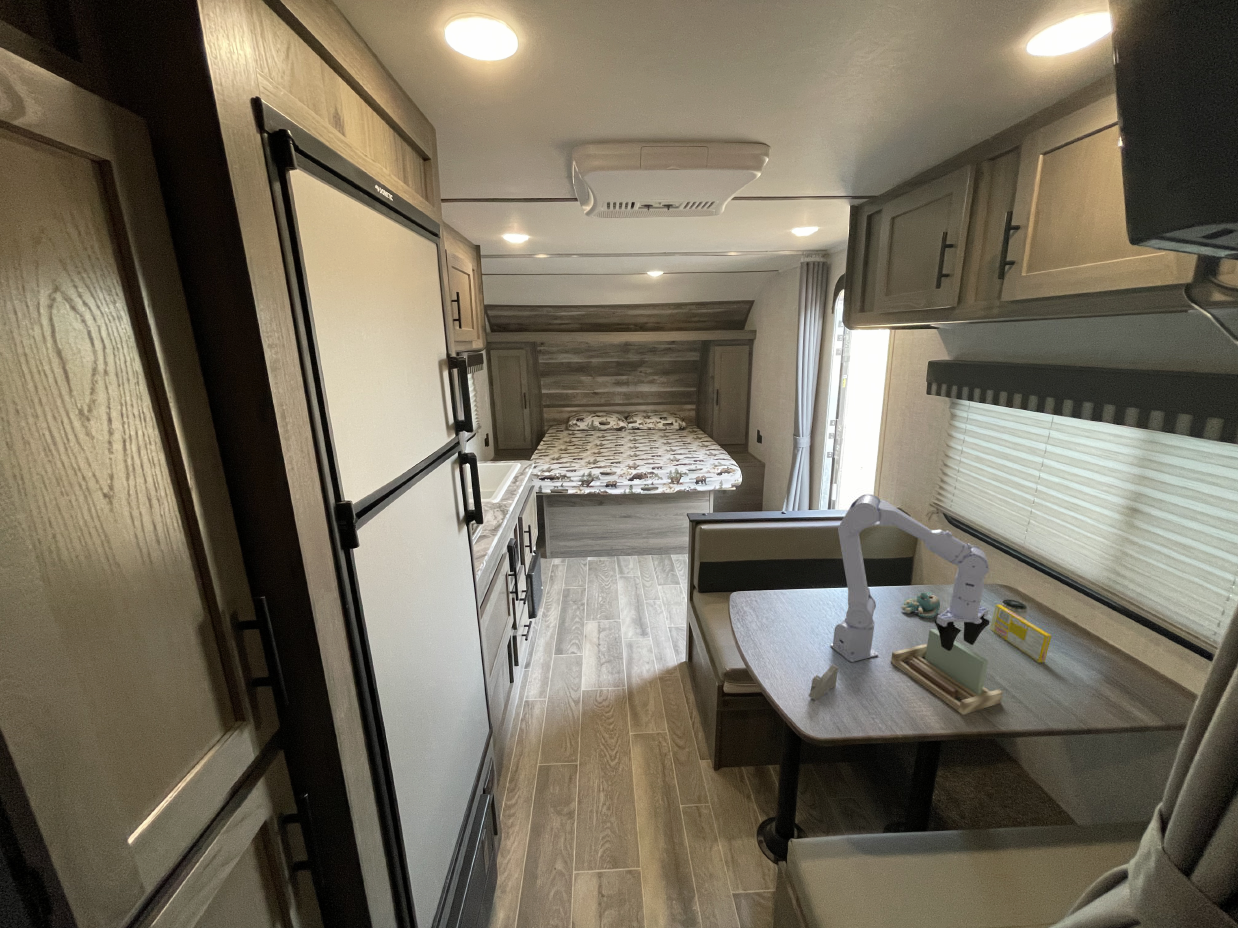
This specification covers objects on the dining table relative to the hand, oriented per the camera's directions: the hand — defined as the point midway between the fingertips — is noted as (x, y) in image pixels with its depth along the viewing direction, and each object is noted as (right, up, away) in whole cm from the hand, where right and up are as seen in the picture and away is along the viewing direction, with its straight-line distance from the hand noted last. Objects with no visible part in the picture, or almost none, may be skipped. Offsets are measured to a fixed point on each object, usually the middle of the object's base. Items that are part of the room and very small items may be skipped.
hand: (957, 645), depth 120 cm
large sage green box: (0, -9, +2) cm, 10 cm away
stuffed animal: (+11, -2, +34) cm, 36 cm away
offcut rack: (-2, -9, +2) cm, 10 cm away
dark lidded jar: (+33, -4, +25) cm, 42 cm away
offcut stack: (-6, -10, +1) cm, 12 cm away
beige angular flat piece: (-35, -11, -2) cm, 37 cm away
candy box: (+28, -6, +16) cm, 33 cm away
